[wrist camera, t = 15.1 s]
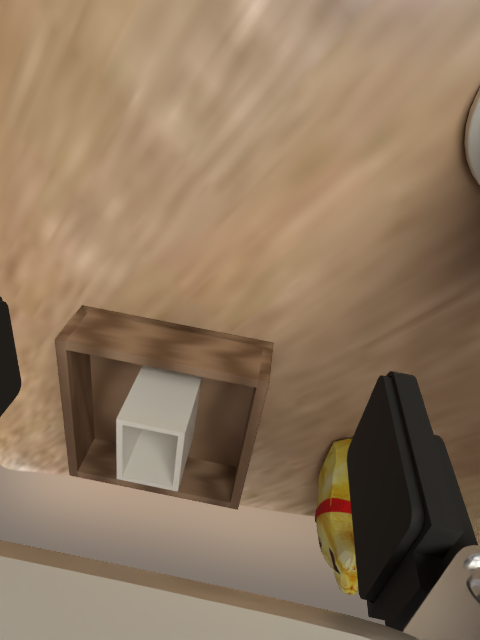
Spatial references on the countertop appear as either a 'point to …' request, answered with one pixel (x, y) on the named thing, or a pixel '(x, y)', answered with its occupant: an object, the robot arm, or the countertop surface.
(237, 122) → the countertop surface
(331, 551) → the chocolate bunny
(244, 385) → the big crate
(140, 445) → the box
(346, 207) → the countertop surface
